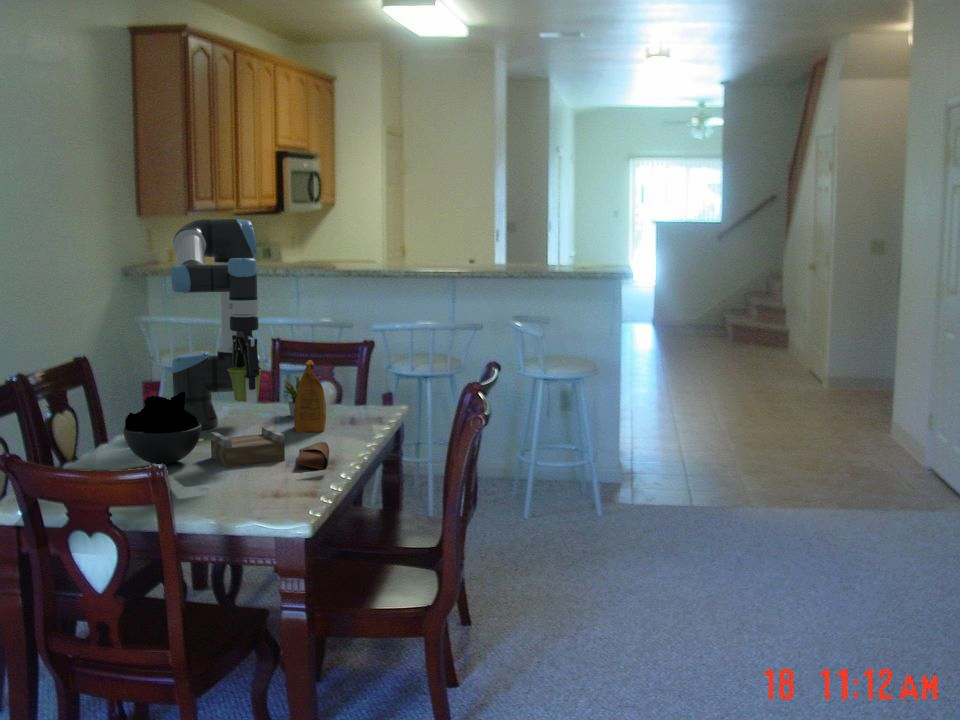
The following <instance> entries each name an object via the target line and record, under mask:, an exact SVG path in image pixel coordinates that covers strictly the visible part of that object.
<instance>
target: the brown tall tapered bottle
mask: <svg viewBox="0 0 960 720" xmlns="http://www.w3.org/2000/svg"><path fill="white" fill-rule="evenodd" d="M304 364H305V366H306V367H305V369H304V370H303V374H302V375H301V378H300V379H299V381H300V383H299V387H298V390H296V393H297V394H296V400H295V409H294V417H293V423H294V424H293V425H294V427H293V428H294V431H295V432H296V433H298V434H305V433H306V434H307V433H308V434H309V433H324V432H325V428H326V422H327V403H326V397H325V391H324V386H323V385H322V383H321V382H320V381H319V378H317V375H316V374H315V373H314V371H313V370H314V369H315V368H316V367H315V365H314V364H315V363H314V362H313V360H311V359H309V360H307V361H306V362H305V363H304Z"/></svg>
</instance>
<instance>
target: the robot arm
mask: <svg viewBox="0 0 960 720" xmlns="http://www.w3.org/2000/svg"><path fill="white" fill-rule="evenodd" d="M172 247H173V251H174V252H175V254H176V257H177V264H176V265H175V264H174V265H172V266H171V268H170V273H171V291H172V292H174V293H184V294H189V293H191V294H192V293H220V311H221V312H220V316H221V317H220V319H221V321H220V323H221V345H220V346H219V347H218V348H217V351H216V352H217V355H212V354H211V353H210V351H208V350H201V351H193V352H187V353H183V354H179V355H177V356H175V357H174V358H173V359H172V360H171V361H172V362H171V371H170V372H171V374H172V397H174V396H176V395H178V394H179V393H181V392H185V396H186V397H185V406H184V407H185V408H184V409H185V411H187V412H189V413H190V414H192V415H193V416H195V417H196V419H197V422H198V423H200V424H201V425H202V429H201V431H202V430H208V429H214V428H216V427H218V426H219V419H218V418H219V417H218V415H217V412H216V409H215V407H214V404H213V401H212V399H213V398H212V394H214V393H234V391H233V386H232V381H231V377H230V374H229V371H228V369H229V368H233V367H237V368H242V367H245V368H246V374H247V375H245V376H244V378H245V379H246V402H247V403H252V402H257V401H258V399H257V388H256V377H257V376H259V367H261V366H260V365H261V364H260V363H261V355H259V354H258V338H255V337H253V331H258V330H259V317H258V316H257V315H258V314H259V299H258V267H257V260H256V259H255V258H256V257H257V256H258V249H257V247H258V246H257V239H256V234H255V229H254V226H253V224H252V222H251V221H250V220H248V219H240V218H235V219H234V218H222V219H221V218H220V219H219V218H218V219H217V218H211V219H209V218H208V219H207V218H201V219H196V220H192V221H190V222H188V223H186V224H185V225H183V226H181V228H179V229H178V230H177V232H176V233H175V235H174V236H173V240H172ZM205 258H214V260H213V261H214V264H206V259H205ZM246 402H245V403H246Z"/></svg>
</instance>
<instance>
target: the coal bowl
mask: <svg viewBox="0 0 960 720" xmlns="http://www.w3.org/2000/svg"><path fill="white" fill-rule="evenodd" d="M185 397H186V396H185V392H181V393H179V394H178V395H176V396H174V397H173V396H172V397H170V399H169V398H166V397H163V396H159V395H156V396H155V395H150V396H146V398H145V400H144V406H143V408H141V409H140V411H138V412H136V413H134V412H129V413H128V414H127V416H126V417H125V419H124V428H122V431H123V438H124V440H125V442H126V444H127V446H128V448H129V449H130V450H131V452H132V453H133V454H135V455H136V457H138V458H140V459H141V460H142V461H146V462H147V463H150V464H154V463H156V464H155V465H162V464H161V463H165V464H164V465H169V464H174V463H176V462H179V461H180V460H182V459H185V458H186V457H187V456H189V454H190V453H192V451H193V450H194V449H195V447H196V446H197V444H198V442H199V441H200V437H201V434H202V430H201V429H202V425H201V424H200V423H198V422H197V419H196V417H195V416H193V415H192V414H190V413H189V412H187V411H185V409H184V408H185V407H184V406H185Z"/></svg>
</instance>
